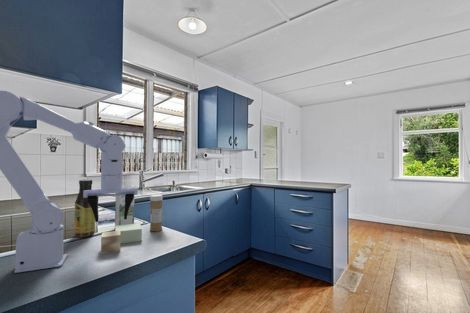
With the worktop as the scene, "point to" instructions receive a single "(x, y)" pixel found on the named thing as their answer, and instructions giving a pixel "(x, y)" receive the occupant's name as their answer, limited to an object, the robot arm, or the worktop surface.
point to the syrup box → (120, 211)
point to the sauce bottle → (84, 212)
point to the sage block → (129, 232)
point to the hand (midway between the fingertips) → (111, 219)
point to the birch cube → (110, 242)
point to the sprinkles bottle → (156, 212)
